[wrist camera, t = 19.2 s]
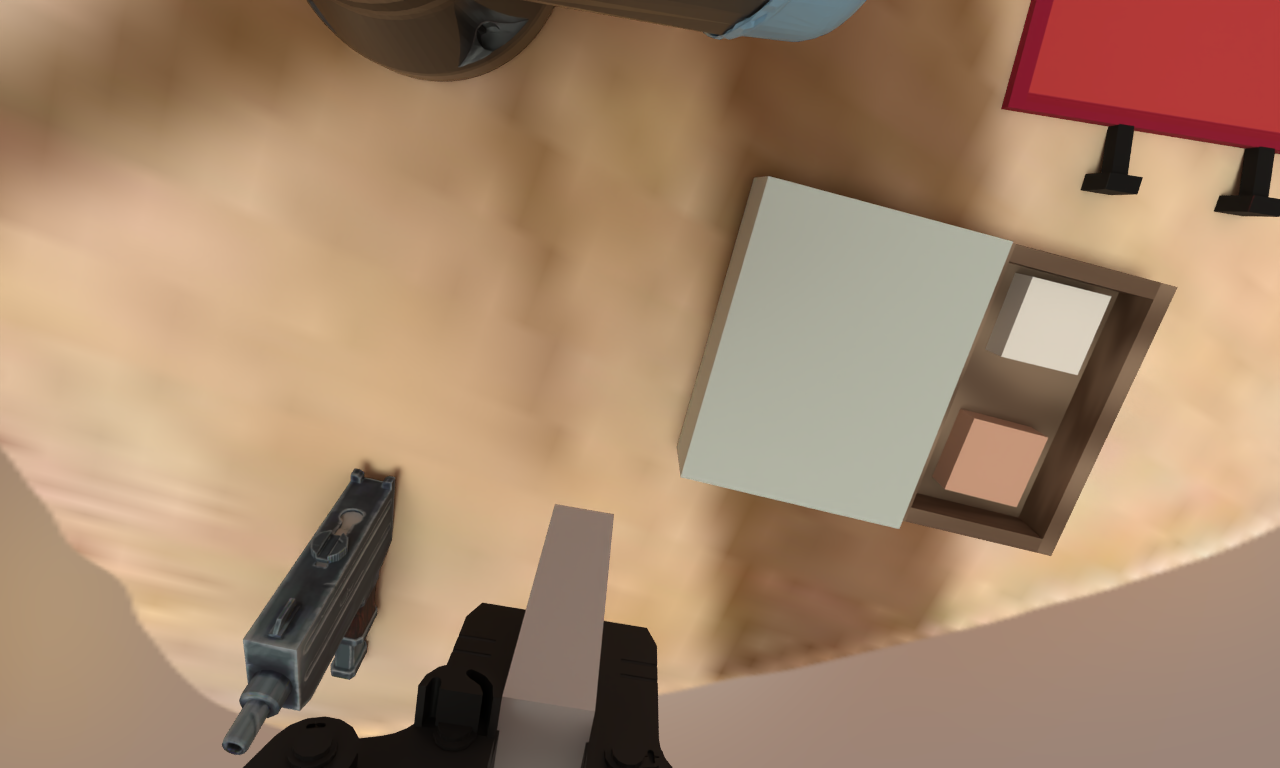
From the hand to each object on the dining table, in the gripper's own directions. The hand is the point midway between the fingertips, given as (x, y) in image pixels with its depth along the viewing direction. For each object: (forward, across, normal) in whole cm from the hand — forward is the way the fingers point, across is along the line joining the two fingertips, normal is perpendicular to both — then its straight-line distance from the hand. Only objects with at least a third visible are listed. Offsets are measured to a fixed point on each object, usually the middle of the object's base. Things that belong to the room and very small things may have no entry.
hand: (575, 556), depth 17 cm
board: (+28, +13, +1) cm, 31 cm away
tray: (+28, +25, 0) cm, 38 cm away
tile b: (+25, +25, -4) cm, 36 cm away
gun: (+28, -14, -20) cm, 37 cm away
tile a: (+25, +26, +5) cm, 37 cm away
